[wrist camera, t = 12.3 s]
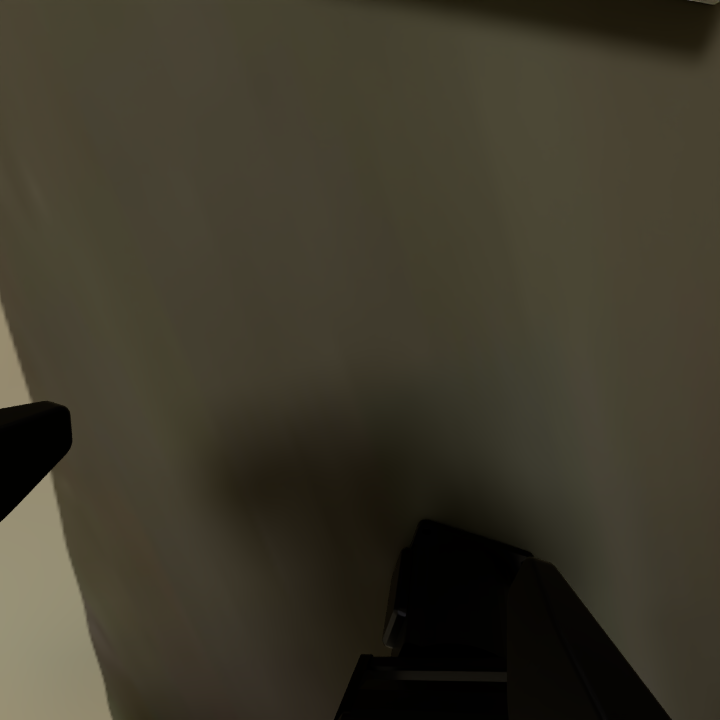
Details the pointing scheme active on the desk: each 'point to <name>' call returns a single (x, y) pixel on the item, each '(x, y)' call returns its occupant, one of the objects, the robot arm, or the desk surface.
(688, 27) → the desk surface
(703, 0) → the housing
